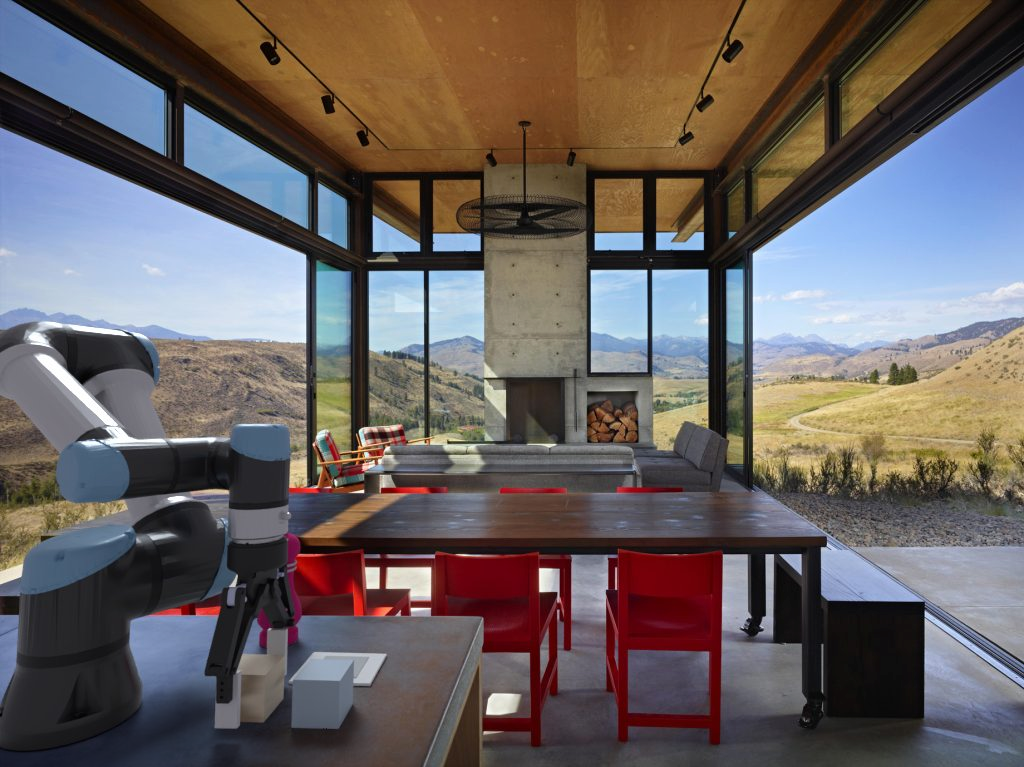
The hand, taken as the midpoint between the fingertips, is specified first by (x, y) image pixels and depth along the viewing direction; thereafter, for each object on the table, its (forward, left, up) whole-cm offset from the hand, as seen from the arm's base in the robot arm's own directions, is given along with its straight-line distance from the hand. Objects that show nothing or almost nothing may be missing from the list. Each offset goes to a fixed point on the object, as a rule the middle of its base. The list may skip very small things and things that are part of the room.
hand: (254, 698), depth 75 cm
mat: (+8, +12, -1) cm, 14 cm away
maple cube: (0, 0, -2) cm, 2 cm away
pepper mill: (-6, +22, -2) cm, 23 cm away
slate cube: (+10, -1, -2) cm, 10 cm away
